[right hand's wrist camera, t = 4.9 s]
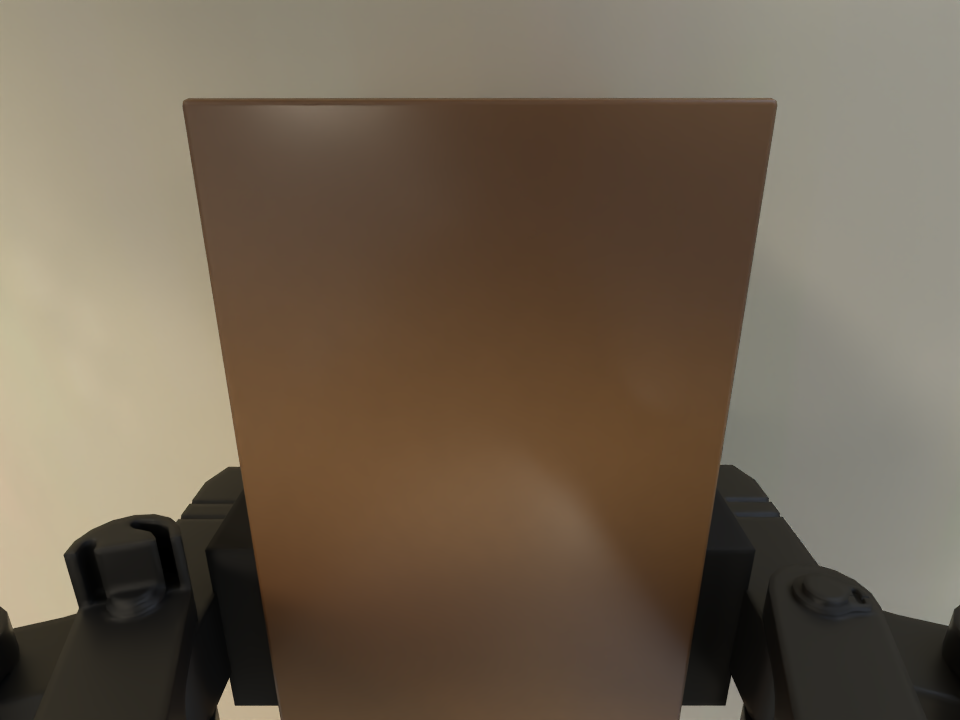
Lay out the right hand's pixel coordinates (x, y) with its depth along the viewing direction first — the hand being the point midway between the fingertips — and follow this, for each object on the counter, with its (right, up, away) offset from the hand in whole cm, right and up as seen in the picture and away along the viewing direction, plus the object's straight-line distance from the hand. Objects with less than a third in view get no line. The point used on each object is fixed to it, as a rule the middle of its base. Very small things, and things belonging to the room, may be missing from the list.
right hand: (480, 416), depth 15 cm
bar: (0, -20, +8) cm, 22 cm away
